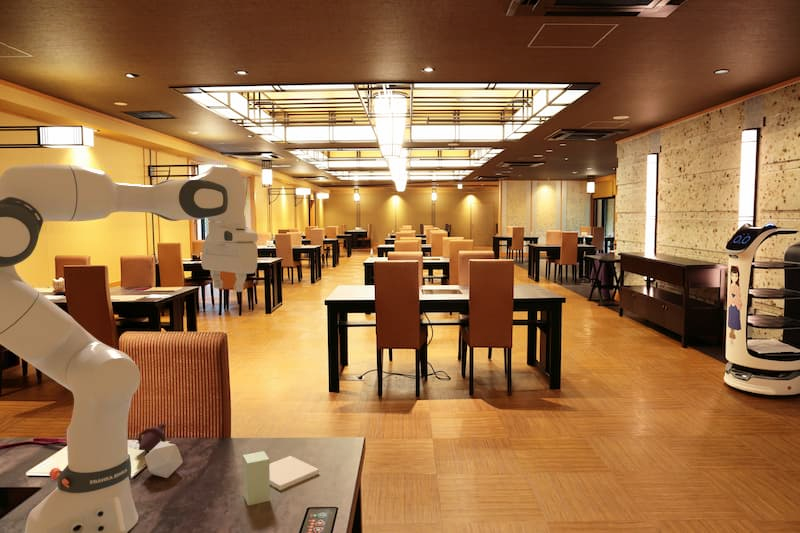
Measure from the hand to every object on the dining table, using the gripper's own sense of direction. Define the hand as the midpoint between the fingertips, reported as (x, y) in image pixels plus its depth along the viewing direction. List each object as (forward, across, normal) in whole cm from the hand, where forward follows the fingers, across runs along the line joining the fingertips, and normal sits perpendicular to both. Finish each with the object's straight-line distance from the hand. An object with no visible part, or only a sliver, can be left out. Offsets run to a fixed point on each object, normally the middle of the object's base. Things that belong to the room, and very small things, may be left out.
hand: (228, 289), depth 134 cm
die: (+48, -14, -10) cm, 51 cm away
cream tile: (+48, +9, +10) cm, 50 cm away
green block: (+48, +14, -2) cm, 50 cm away
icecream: (+48, -30, -6) cm, 57 cm away
